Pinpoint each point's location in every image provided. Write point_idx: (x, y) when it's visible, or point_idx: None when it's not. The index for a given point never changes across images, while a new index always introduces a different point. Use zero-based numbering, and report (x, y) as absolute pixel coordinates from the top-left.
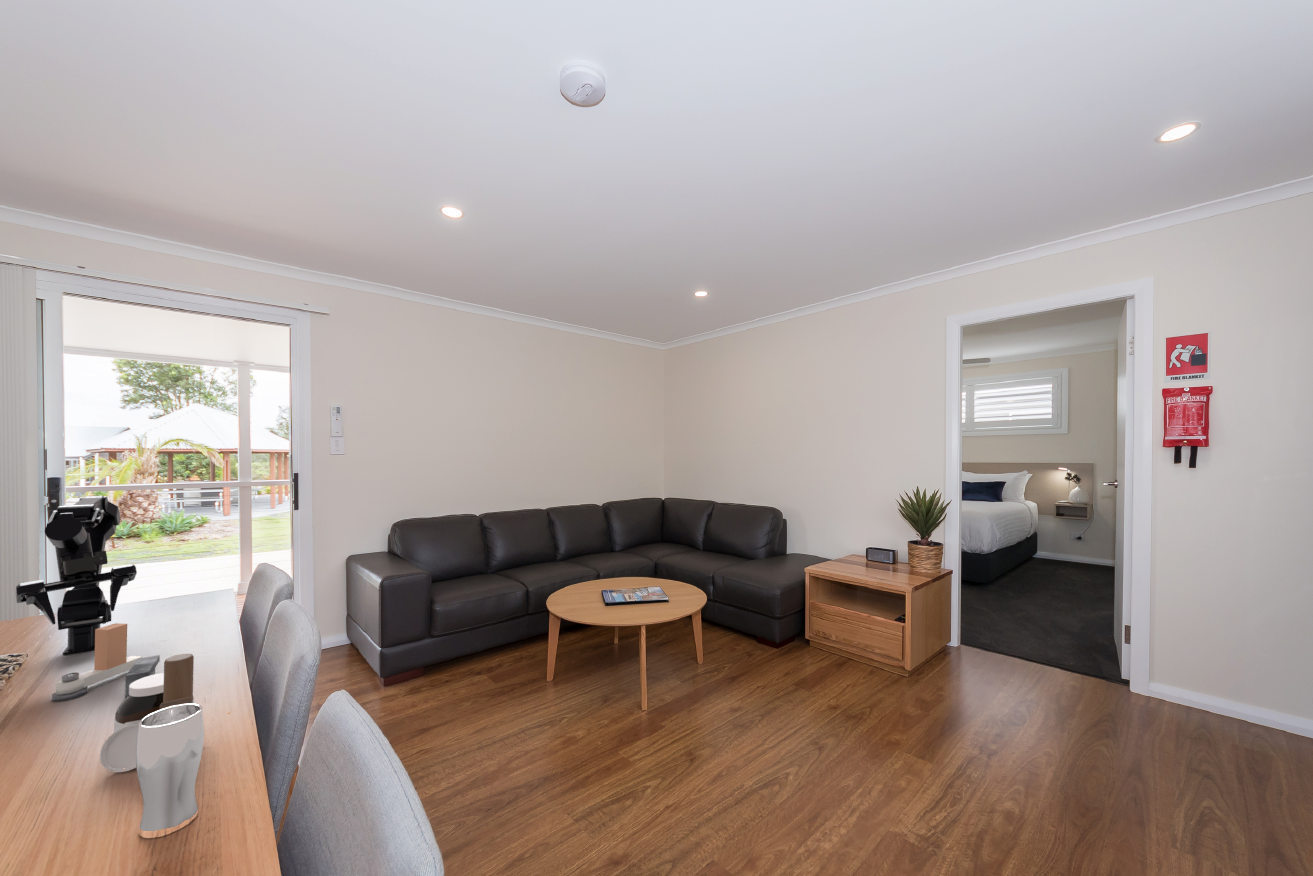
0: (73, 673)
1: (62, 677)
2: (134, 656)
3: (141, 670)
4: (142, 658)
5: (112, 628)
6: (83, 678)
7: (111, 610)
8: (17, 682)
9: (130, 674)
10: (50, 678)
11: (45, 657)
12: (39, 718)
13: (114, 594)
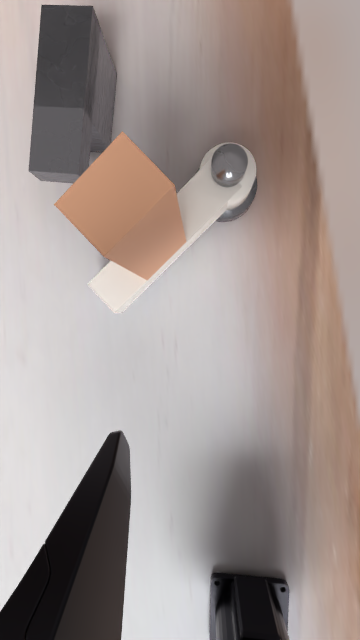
0: (224, 171)
1: (245, 153)
2: (106, 302)
3: (59, 32)
4: (68, 166)
5: (105, 151)
6: (200, 167)
7: (126, 443)
8: (345, 398)
9: (82, 9)
10: (282, 376)
11: (321, 593)
12: (257, 69)
13: (64, 552)
